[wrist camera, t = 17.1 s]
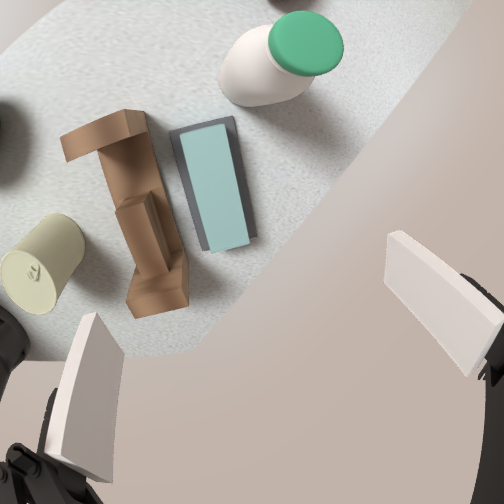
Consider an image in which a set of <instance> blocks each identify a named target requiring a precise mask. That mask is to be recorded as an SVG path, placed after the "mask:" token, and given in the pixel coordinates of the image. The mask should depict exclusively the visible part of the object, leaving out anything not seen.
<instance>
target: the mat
mask: <svg viewBox="0 0 504 504" xmlns="http://www.w3.org/2000/svg"><path fill="white" fill-rule="evenodd" d="M218 124H225V129H226V133H227V138H228V143H229V148H230V152H231V157H232V162H233V166H234V171H235V176H236V180H237V185H238V190H239V195H240V199H241V204H242V209H243V213H244V218H245V223H246V227H247V232H248V237H249V239H250V238H253V237H257V233H256V228H255V223H254V218H253V213H252V208H251V203H250V198H249V193H248V188H247V183H246V178H245V173H244V169H243V164H242V159H241V154H240V149H239V144H238V140H237V135H236V130H235V125H234V120H233V116H229V117H225V118H220V119H216V120H211V121H207V122H203V123H199V124H195V125H191V126H187V127H184V128H180V129H176V130H173V131H169V134H170V138H171V142H172V146H173V150H174V154H175V158H176V162H177V165H178V169H179V173H180V176H181V180H182V184H183V187H184V191H185V194H186V198H187V201H188V205H189V208H190V212H191V215H192V219H193V222H194V225H195V229H196V232H197V235H198V239H199V242H200V245H201V248H202V251H204V250H208V249H210V247H209V244H208V240H207V237H206V233H205V230H204V226H203V223H202V219H201V216H200V212H199V208H198V205H197V201H196V197H195V194H194V190H193V186H192V182H191V179H190V175H189V171H188V167H187V163H186V159H185V155H184V151H183V147H182V143H181V139H180V135H181V134H182V133H185V132H189V131H193V130H197V129H201V128H205V127H209V126H213V125H218Z"/></svg>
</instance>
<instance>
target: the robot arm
mask: <svg viewBox="0 0 504 504" xmlns="http://www.w3.org/2000/svg"><path fill="white" fill-rule="evenodd" d="M384 283H385V285H386V286H387V287H388V288H389V289H390V290H391V291H392V292H393V293H394V294H395V295H396V296H397V297H398V298H399V299H400V300H401V301H402V302H403V304H404V305H405V306H406V307H407V308H408V309H409V310H410V311H411V312H412V313H413V314H414V316H415V317H416V318H417V319H418V320H419V321H420V322H421V323H422V324H423V326H424V327H425V328H426V329H427V330H428V331H429V332H430V334H432V336H433V337H434V338H435V339H436V341H437V342H438V343H439V344H440V345H441V346H442V347H443V349H444V350H445V351H446V352H447V354H448V355H449V356H450V357H451V359H452V360H453V361H454V362H455V363H456V365H457V366H458V367H459V368H460V370H461V371H462V372H463V374H464V375H465V376H466V377H467V376H468V375H470V374H471V373H472V372H473V371H475V370H476V369H477V368H478V367H479V365H480V364H481V362H482V361H483V359H484V358H485V359H486V360H487V363H486V364H485V366H484V367H483V369H482V370H481V372H480V373H479V375H478V380H480V379H481V377H482V376H483V374H484V373H485V376H484V378H483V380H486V402H485V422H484V434H483V443H482V451H481V457H480V464H479V469H478V474H477V479H476V483H475V488H474V492H473V495H472V500H471V503H470V504H504V306H503V305H502V304H501V303H500V302H499V301H497V299H495V298H494V297H493V296H492V295H491V294H490V293H487V291H486V290H485V289H484V288H483V287H481V286H480V285H479V284H478V283H477V282H476V281H475V280H473V279H472V278H470V277H468V276H466V275H464V274H458V273H457V272H456V271H455V270H453V269H452V268H451V267H450V266H448V265H447V264H446V263H445V262H443V261H442V260H441V259H439V258H438V257H437V256H436V255H434V254H433V253H432V252H430V251H429V250H428V249H426V248H425V247H424V246H422V245H421V244H419V243H418V242H417V241H415V240H414V239H413V238H411V237H410V236H408V235H407V234H405V233H404V232H403V231H401V230H398V231H394V232H391V233H388V237H387V253H386V264H385V273H384ZM29 349H30V344H29V340H28V337H27V335H26V333H25V331H24V329H23V328H22V326H21V325H20V324H19V323H18V321H17V320H16V319H15V318H14V317H13V316H12V315H11V314H10V313H9V312H7V311H6V310H5V309H3V308H2V307H0V401H1V398H2V395H3V392H4V389H5V387H6V384H7V382H8V379H9V376H10V374H11V372H12V371H13V370H14V369H15V368H16V367H17V366H18V365H19V364H20V363H21V362H22V361H23V360H24V359H25V358H26V356H27V354H28V351H29ZM124 355H125V354H124V352H123V351H122V350H121V348H120V347H119V345H118V344H117V343H116V341H115V340H114V338H113V337H112V335H111V334H110V332H109V331H108V329H107V328H106V326H105V325H104V323H103V321H102V320H101V318H100V317H99V315H98V313H97V312H94V313H89V314H85V315H83V316H82V319H81V322H80V324H79V327H78V329H77V332H76V335H75V337H74V340H73V343H72V346H71V349H70V351H69V354H68V357H67V360H66V364H65V367H64V370H63V373H62V376H61V380H60V383H59V387H58V388H55V389H54V391H53V392H52V394H51V396H50V397H49V400H48V403H47V407H46V410H47V411H46V412H45V416H44V421H43V424H42V429H41V434H40V438H39V444H38V449H37V453H34V452H32V451H31V450H30V449H28V448H27V447H25V446H24V445H22V444H21V443H14V444H12V445H11V446H10V448H9V449H8V451H7V454H6V463H5V462H0V504H27V503H29V504H103V502H102V501H101V500H100V498H99V497H98V495H97V494H96V493H95V491H94V490H93V488H92V487H91V486H90V485H89V484H88V483H87V482H86V477H88V478H90V479H92V480H94V481H96V482H104V483H113V454H114V437H115V436H114V435H115V423H116V413H117V403H118V395H119V387H120V380H121V373H122V367H123V360H124Z"/></svg>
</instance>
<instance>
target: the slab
mask: <svg viewBox="0 0 504 504" xmlns="http://www.w3.org/2000/svg"><path fill="white" fill-rule="evenodd" d="M180 139H181V143H182V147H183V151H184V155H185V159H186V163H187V167H188V171H189V175H190V179H191V182H192V186H193V190H194V194H195V197H196V201H197V205H198V208H199V212H200V216H201V219H202V223H203V226H204V230H205V233H206V237H207V240H208V244H209V247H210V251H211V254H212V253H216V252H220V251H224V250H228V249H231V248H235V247H239V246H243V245H247V244H250V242H249V237H248V232H247V227H246V223H245V218H244V213H243V209H242V204H241V199H240V195H239V190H238V185H237V180H236V176H235V171H234V166H233V162H232V157H231V152H230V148H229V143H228V138H227V133H226V129H225V124H218V125H213V126H209V127H205V128H201V129H197V130H193V131H189V132H185V133H182V134H181V135H180Z"/></svg>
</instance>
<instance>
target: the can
mask: <svg viewBox="0 0 504 504" xmlns="http://www.w3.org/2000/svg"><path fill="white" fill-rule="evenodd" d="M84 254H85V240H84V237H83V234H82V232H81V230H80V228H79V227H78V226H77V224H76V223H75V222H74V221H73V220H71V219H70V218H68V217H67V216H64V215H61V214H51V215H48V216H46V217H44V218H43V219H42V220H41V221H40V223H39V224H38V225H37V226H36V227H35V228H34V229H33V230H32V231H30V232H29V233H28V234H27V235H26V236H25V237H24V238H23V239H22V240H21V241H20V242H19V243H18V244H17V245H16V246H15V247H14V248H13V249H12V250H10V251H9V252H8V253H7V254H6V255H5V256H4V257H3V259H2V261H1V265H0V276H1V281H2V284H3V286H4V288H5V290H6V292H7V294H8V295H9V297H10V298H11V299H12V300H13V301H14V302H15V303H16V304H17V305H18V306H19V307H20V308H22V309H23V310H25V311H27V312H29V313H32V314H36V315H44V314H47V313H49V312H51V311H52V310H53V309H54V307H55V305H56V303H57V300H58V298H59V296H60V294H61V293H62V291H63V289H64V287H65V285H66V284H67V282H68V280H69V278H70V277H71V275H72V274H73V272H74V270H75V269H76V267H77V266H78V265H79V264H80V263H81V261H82V260H83V257H84Z"/></svg>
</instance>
